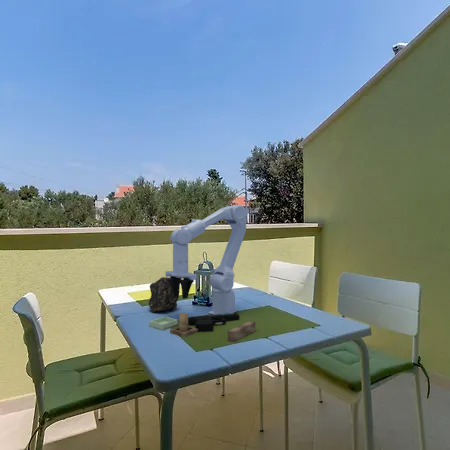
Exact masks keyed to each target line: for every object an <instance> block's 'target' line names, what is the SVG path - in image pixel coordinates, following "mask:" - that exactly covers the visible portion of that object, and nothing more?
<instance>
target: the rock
mask: <svg viewBox="0 0 450 450" xmlns="http://www.w3.org/2000/svg"><path fill="white" fill-rule="evenodd" d="M169 278H170V277H169V276H168V277H166V276H165V277H164V276H162V277H159V279H158V280H156V281H155V282H152V283H150V285H149V290H150V298H149V299H148V307H149V309H150V311H151V312H152V313H159V312H162V311H166V310H173V311H174V310H175V309H176V308H177V307H178V303H177V302H178V301H179V298H180V297H179V296H180V295H179V296H177V297H174V295H173V291H172V288H171V286H170V284H169V282H168V279H169Z"/></svg>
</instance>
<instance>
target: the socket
mask: <svg viewBox="0 0 450 450" xmlns="http://www.w3.org/2000/svg"><path fill="white" fill-rule="evenodd" d="M198 330H199V328H197V329H196V328H195V326H192V325H188V331H186V332H182V331H179V326H175V327H172V328H170V329H169V334H171V335H175V336H178V337H182V338H186V337H188V336H191V335H194V334H196V333H198V332H197V331H198Z"/></svg>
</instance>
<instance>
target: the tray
mask: <svg viewBox="0 0 450 450" xmlns="http://www.w3.org/2000/svg"><path fill="white" fill-rule="evenodd" d="M148 324H149V325H148V327H149V328H153V329H155V330H159V331H166V330H168V329H169V330H170V329H173V328H175V327H178V326H179V319H175V318H172V317H167V316H161V317H159V318H155V319H152V320H149V321H148Z"/></svg>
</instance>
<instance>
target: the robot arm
mask: <svg viewBox="0 0 450 450" xmlns="http://www.w3.org/2000/svg"><path fill="white" fill-rule="evenodd" d="M247 217H248V212H247V210H246V208H245V207H244V206H243V205H241V204H236V205H231V206H230V205H227V206H225V207H222V208H219V209H218V210H216V211H215V212H213V213H211V214H209V215H208V216H207V217H205V218H203V219H200V218H199V219H195V218H194V219H192V220H191V219H190V220H191V221H190V223H188V224H186V225H181V226H180V228H179V229H174V230H173V231H172V233H171V235H170V236H169V237H170V238H169V239H170V241H171V242H172V270H167V271H165V277H168V278H169V279H168V282H169V284H170V286H171V288H172V291H173V295H174V297H177V296H180V289H181V296H182V299H183V300H184V299H188V297H189V293H190V290H191V287H192V285H193V283H194V282H195V281H196V280H198V279H197V278H198V277H197V274H196V273H192V272H190V271H189V243H191V240H192V239H193V240H194V238H196V237H198V236H200V235H201V234H204V233H205V232H206V228H208V227H209V226H211V225H214V224H215V223H217V222H220V221H221V220H224V221H225V223H227V224H228V225H229V226H230V229H231V233H230V236H229V239H228V241H227V244H226V247H225V250H224V251H223V252H224V253H223V255H222V258H221V261H220V264H219V265H218V266H217V267H216V268H215V269H214V272H213V274H211V276H210V278H209V284H210V286H211V287H212V289H211V290H212V310H209V311H208V312H207V314H210V315H215V314H225V313H237V312H238V310H237V309H236V294H235V291H234V290H232V289H233V287H234V282H235V281H234V278H235V273H234V267H235V264H236V261H237V258H238V256H239V252H240V248H241V247H242V244H243V240H244V238H245V234H246V232H247V231H246V230H247Z"/></svg>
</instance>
